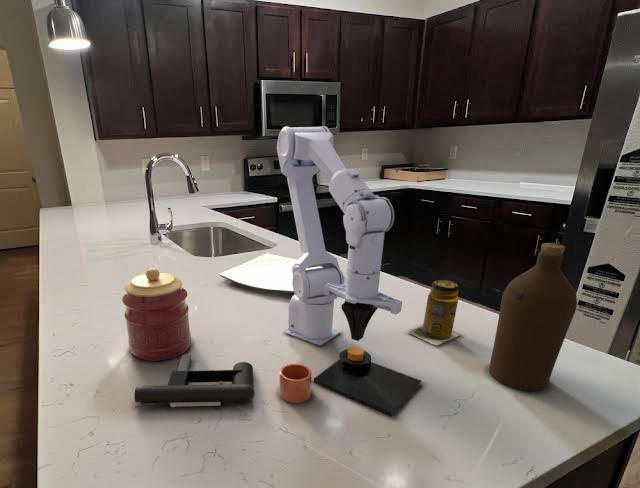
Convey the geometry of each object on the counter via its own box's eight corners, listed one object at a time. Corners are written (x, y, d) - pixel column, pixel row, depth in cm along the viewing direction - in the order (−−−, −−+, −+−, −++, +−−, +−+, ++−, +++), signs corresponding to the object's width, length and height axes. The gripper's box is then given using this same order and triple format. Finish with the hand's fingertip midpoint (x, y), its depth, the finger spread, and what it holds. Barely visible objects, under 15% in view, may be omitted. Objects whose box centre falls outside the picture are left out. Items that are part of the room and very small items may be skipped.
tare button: (344, 358, 80) (344, 351, 79) (352, 352, 82) (352, 345, 81) (358, 363, 78) (359, 356, 78) (366, 357, 80) (366, 350, 80)
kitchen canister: (156, 328, 98) (147, 255, 91) (203, 339, 92) (197, 263, 85) (116, 354, 87) (103, 273, 80) (167, 368, 82) (157, 283, 75)
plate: (213, 283, 125) (212, 274, 124) (265, 259, 147) (265, 251, 146) (295, 303, 110) (296, 293, 109) (341, 273, 132) (341, 265, 131)
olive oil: (550, 401, 70) (595, 258, 60) (480, 381, 76) (512, 248, 66) (552, 372, 78) (593, 242, 68) (489, 356, 84) (519, 234, 74)
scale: (313, 382, 76) (314, 370, 75) (348, 356, 85) (349, 345, 84) (391, 417, 67) (392, 404, 66) (421, 383, 76) (423, 371, 75)
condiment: (459, 335, 92) (470, 284, 88) (436, 346, 88) (445, 293, 83) (430, 323, 98) (439, 275, 93) (407, 333, 94) (414, 283, 89)
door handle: (152, 351, 83) (131, 395, 68) (253, 349, 83) (254, 393, 68) (154, 366, 84) (133, 413, 69) (253, 364, 84) (254, 410, 69)
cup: (273, 394, 73) (273, 372, 71) (291, 381, 77) (292, 360, 75) (298, 407, 70) (298, 384, 68) (316, 392, 73) (317, 371, 72)
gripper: (316, 266, 75) (313, 334, 80) (392, 284, 66) (383, 359, 71) (337, 257, 80) (332, 322, 85) (411, 273, 71) (401, 344, 76)
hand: (357, 338), depth 78 cm, fingers closed
